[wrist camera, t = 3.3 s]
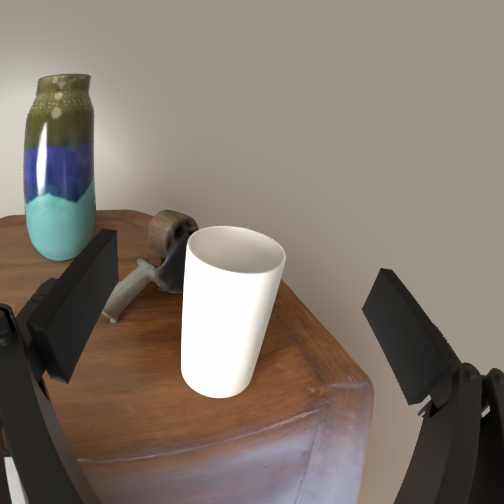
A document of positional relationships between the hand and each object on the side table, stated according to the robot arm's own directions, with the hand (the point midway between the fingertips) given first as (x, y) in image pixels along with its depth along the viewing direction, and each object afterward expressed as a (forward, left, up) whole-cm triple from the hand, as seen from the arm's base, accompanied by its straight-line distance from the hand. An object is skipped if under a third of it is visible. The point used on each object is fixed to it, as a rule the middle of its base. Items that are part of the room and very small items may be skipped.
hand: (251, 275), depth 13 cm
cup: (+8, -5, -20) cm, 22 cm away
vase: (+41, +11, -20) cm, 47 cm away
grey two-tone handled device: (+24, -3, -20) cm, 32 cm away
